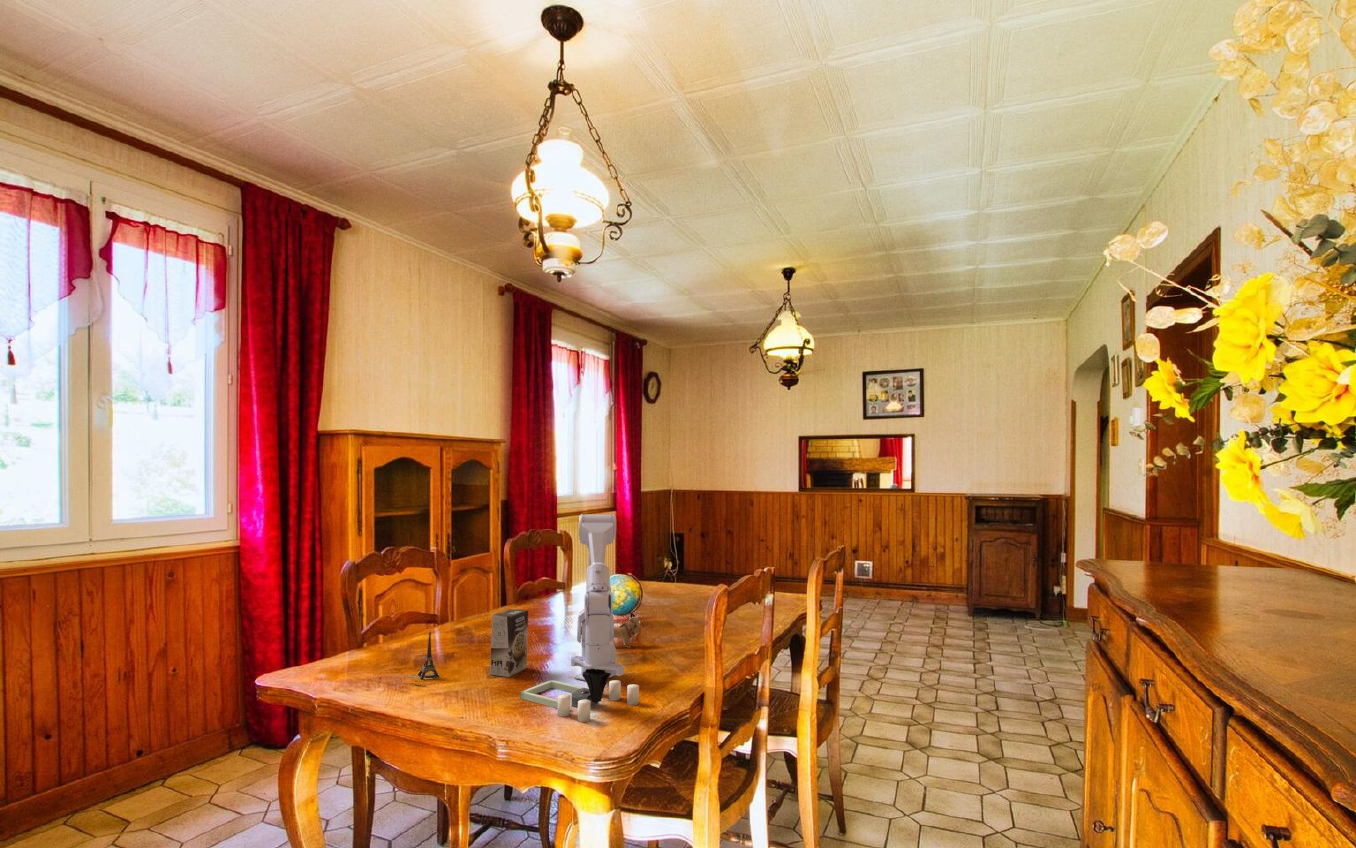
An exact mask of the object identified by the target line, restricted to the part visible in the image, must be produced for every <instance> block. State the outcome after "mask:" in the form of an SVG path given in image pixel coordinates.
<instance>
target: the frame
mask: <svg viewBox="0 0 1356 848" xmlns="http://www.w3.org/2000/svg"><path fill="white" fill-rule="evenodd" d="M581 688H584V687H582V686H577V685H574V684H569V683H567V682H561V681H558V680H553V679H551V680H547V681H545V682H543V683H540V684H537V685H535V686H532V687H530V688H527V689H525V690H522V691H520V692H519V699H521V700H525V701H529V702H532V703H536V704H539V705H543V706H545V707H546V706H547V707H550V708H555V709H558V699H555V698H551V697H548V696H544V695H540V694H539V693H542V692H544V691H546V690H549V689H556V690H560V691H563V692H566V693H567V692H568V693H571V694H572V693H573V692H575V691H577V690H579V689H581Z"/></svg>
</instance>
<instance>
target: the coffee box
mask: <svg viewBox="0 0 1356 848" xmlns="http://www.w3.org/2000/svg"><path fill="white" fill-rule="evenodd" d="M491 616H492V617H491V637H490V639H491V640H490V662H489V663H490V665H489V674H490V676H491V675H493V676H498V677H503V678H505V677H506V678H510V677H512V676H514V675H516V674H518V673H520V672H522V671H524V670H525V669H527V668H528V641H529V640H528V639H529V638H528V635H529V634H528V633H529V632H528V631H529V610H528V609H517V608H516V609H511V608H509V609H506V610H504V611H500V612H497V613H494V614H492V615H491Z"/></svg>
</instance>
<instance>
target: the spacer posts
mask: <svg viewBox="0 0 1356 848" xmlns="http://www.w3.org/2000/svg"><path fill="white" fill-rule="evenodd" d="M621 682H622V681H621V680H617V679H615V680H614V679H613V680H610V681H609V682H608V685H609V686H608V689H609V690H608V700H609V701H613V702H614V701H615V702H617V701H620V700H621V688H622V687H621V684H622V683H621ZM626 689H627V691H626V694H627V695H626V705H628V706H638V705H639V704H640V685H639V684H633V683H632V684H631V683H630V684H628V685H627V688H626ZM557 700H558V708H557V717H561V718H563V717H564V718H565V717H568V716H570V715H571V695H570V694H559V695H558V696H557ZM590 703H591V701H590V700H586V699H584V700H579V701H578V707H577V722H578V723H588V722H590V721H591V708H590Z"/></svg>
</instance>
